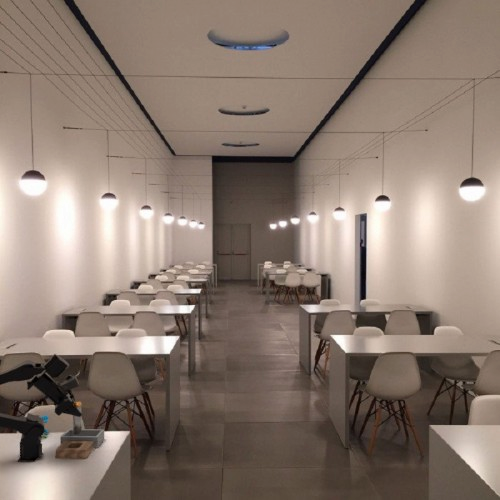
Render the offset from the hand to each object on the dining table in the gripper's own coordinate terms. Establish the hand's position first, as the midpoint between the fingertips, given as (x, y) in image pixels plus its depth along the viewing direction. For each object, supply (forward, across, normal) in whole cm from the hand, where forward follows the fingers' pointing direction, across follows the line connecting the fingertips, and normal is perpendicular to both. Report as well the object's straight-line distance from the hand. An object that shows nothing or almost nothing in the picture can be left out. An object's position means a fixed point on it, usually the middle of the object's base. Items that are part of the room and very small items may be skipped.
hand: (81, 414), depth 190 cm
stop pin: (+4, 0, +6) cm, 7 cm away
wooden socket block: (+8, -1, +11) cm, 14 cm away
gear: (-2, +22, +21) cm, 31 cm away
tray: (+10, +8, +9) cm, 16 cm away
